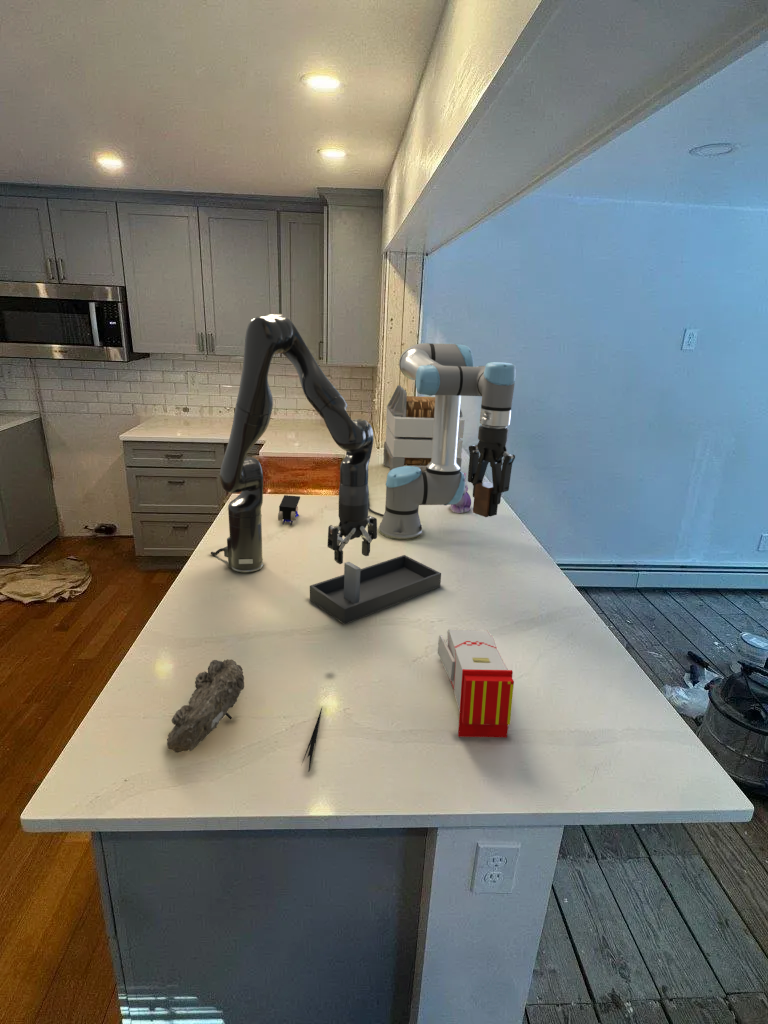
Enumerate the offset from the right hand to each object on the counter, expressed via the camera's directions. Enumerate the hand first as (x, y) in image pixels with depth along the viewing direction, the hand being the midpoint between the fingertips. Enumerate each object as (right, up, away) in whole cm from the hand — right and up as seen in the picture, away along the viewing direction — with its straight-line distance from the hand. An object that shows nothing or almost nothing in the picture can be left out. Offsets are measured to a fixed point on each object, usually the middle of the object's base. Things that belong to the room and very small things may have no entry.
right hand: (484, 512), depth 151 cm
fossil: (-60, -39, -43) cm, 83 cm away
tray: (-29, -23, +7) cm, 37 cm away
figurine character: (-62, -3, +56) cm, 84 cm away
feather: (-39, -40, -43) cm, 70 cm away
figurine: (+4, +1, +75) cm, 76 cm away
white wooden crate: (-10, +19, +124) cm, 126 cm away
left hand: (-35, -12, -4) cm, 37 cm away
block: (0, 0, 0) cm, 0 cm away
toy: (-9, -38, -33) cm, 51 cm away
